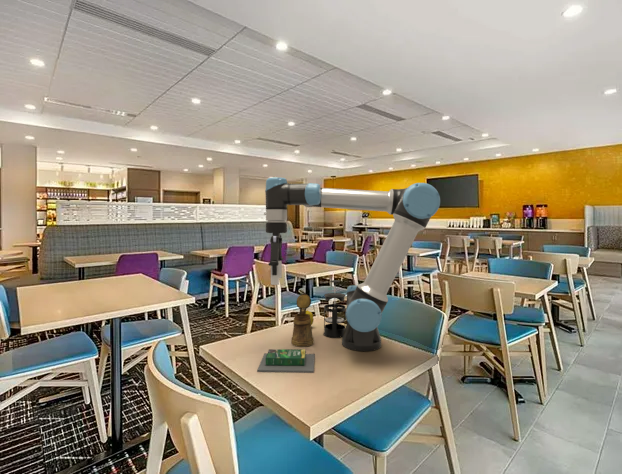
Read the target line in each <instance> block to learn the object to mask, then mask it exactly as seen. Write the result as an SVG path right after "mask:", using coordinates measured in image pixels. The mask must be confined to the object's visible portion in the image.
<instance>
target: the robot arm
mask: <svg viewBox="0 0 622 474" xmlns="http://www.w3.org/2000/svg"><path fill="white" fill-rule="evenodd" d="M264 192H265V212H264V213H263V215H264V216H265V221H267V222H265V233H267V234H272V235H271V237H270V241H269V243H270V258H269V260H270V261H269V262H268V266H270V285H271V286H278V285H280V279H282V278H283V277H282V276H283V274H282V272H283V271H282V270H283V269H282V266H283V265H282V261H284V257H283V256H282V255H283V254H282V252H283V251H282V248H283V238H282V234H286V233H287V232H288V223H287V222H286V221H288V206H303V207H306V208H327V209H328V208H329V209H341V210H345V209H346V210H355V211H357V210H360V211H371V212H372V211H373V212H374V211H375V212H386V213H387V214H389V215H391V216H392V215H393V218H394V221H393V223H392V226H391V228H390V229H389V232H388V233H387V236H386V238H385V239H384V241H383V244H382V245H381V247H380V249H379V251H378V253H377V255H376V257H375V260H374V261H373V264H372V266H371V268H370V270H368V271H369V272H368V274H367V276H366V278H364V282H362V283H359V284H354V285H348V286H347V289H346V292H345V293H346V294H345V295H346V307H345V319H346V324H345V331H344V334H343V337H341V343H342V344H341V345H342V346H343V347H344V348H346V349H349V350H352V351H357V352H371V351H376V350H379V349H380V348H381V347H382V338H381V335H380V331H379V328H378V327H379V325H380V324H381V321H382V319H383V317H382V316H383V312H384V310H385V308H386V306H387V304H388V302H389V298H388V296H387V294H388V292H389V290H390V288H391V286H392V285H393V282H394V280H395V278H396V276H397V274H398V272H399V270H400V268H401V267H402V264H403V262H405V261H404V260H405V259H406V257H407V254H408V253H409V251H410V249H411V246H412V245H413V242H414V241H415V239H416V237H417V235H418V233H419V232H420V231H423V230H425V229H426V227H427V225H428V223H429V222H430V220H431V219H432V217H433V216H434V215H435V214H436V213H437V212H438V210H439V209H440V206H441V196H440V193H439V192H438V190H437V189H436V188H435V187H434V186H433V185H431V184H429V183H426V182H416V183H412V184H411V185H409V186H408V187H406V188H397V189H395V188H391V189H389V191H383V190H367V189H366V190H364V189H351V188H350V189H348V188H347V189H346V188H331V187H321V185H320V184H319V183H312V182H307V183H288V180H287V178H285V177H277V176H276V177H273V176H272V177H268V178H267V179H266V180H265V191H264Z"/></svg>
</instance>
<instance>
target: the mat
mask: <svg viewBox="0 0 622 474" xmlns="http://www.w3.org/2000/svg"><path fill="white" fill-rule="evenodd" d="M267 353H268V352H264V353H263V356H262V358H261V361H260V363H259V365H258V367H257V371H256V372H257V373H298V374H299V373H303V374H305V373H308V374H309V373H311V374H314V373H315V356H316V355H315V353H306V357H305V366H291V365H265V358H266V355H267Z"/></svg>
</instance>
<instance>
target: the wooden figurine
mask: <svg viewBox="0 0 622 474" xmlns="http://www.w3.org/2000/svg"><path fill="white" fill-rule="evenodd" d="M295 304H296V306H297V308H299V313H296V314H294V317H293V321H292V322H293V328H292V329H293V330H292V335H291V344H292V346H295V347H299V348H300V347H302V348H304V347H305V348H306V347H309V346H313V345H314V344H315V343H314V340H315V339H314V337H313V330H312V325H311V318H310V315H309V314H306V311H307V310H308V309H309V307H310V306H311V305H312V298H311V297H310V295H308V294H307V293H304V292H303V293H301V294H300V295H299V296H298V297H296V303H295Z"/></svg>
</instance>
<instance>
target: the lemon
mask: <svg viewBox="0 0 622 474" xmlns="http://www.w3.org/2000/svg"><path fill="white" fill-rule="evenodd" d="M306 314H309V315H310V318H311V326H312V325H313V323H314V315H313V313H312V312H311V311H309V310H308V309H306Z"/></svg>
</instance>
